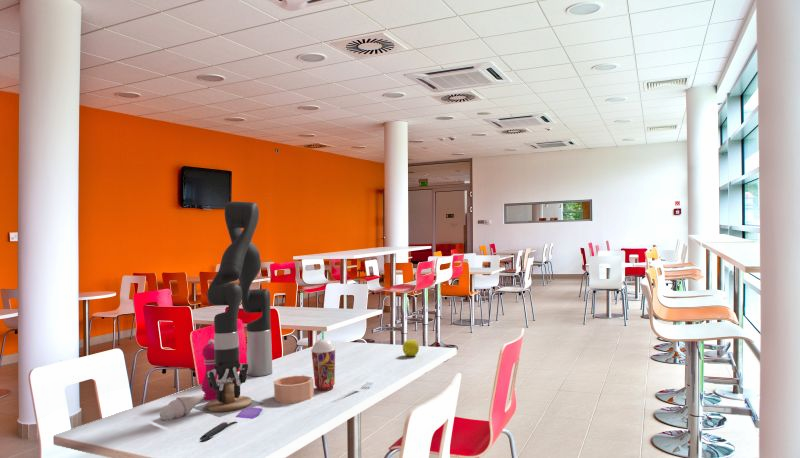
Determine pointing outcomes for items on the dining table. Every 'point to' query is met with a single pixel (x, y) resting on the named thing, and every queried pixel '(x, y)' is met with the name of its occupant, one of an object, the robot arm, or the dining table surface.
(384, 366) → the dining table surface
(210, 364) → the pepper mill
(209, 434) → the spatula
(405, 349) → the tennis ball
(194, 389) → the dining table surface
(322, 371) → the smoothie
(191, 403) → the ice cream cone
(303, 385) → the bowl
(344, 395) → the fork
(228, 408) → the lid
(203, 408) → the mat
